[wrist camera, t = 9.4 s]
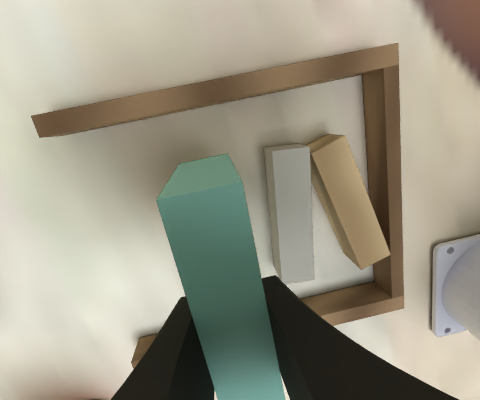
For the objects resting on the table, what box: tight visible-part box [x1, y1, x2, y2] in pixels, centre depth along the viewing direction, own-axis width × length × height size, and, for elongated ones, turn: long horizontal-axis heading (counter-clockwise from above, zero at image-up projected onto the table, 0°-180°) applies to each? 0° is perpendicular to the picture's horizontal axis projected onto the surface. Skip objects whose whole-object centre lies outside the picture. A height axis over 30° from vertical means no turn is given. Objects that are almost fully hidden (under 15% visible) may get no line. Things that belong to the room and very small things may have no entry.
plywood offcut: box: [306, 134, 391, 270], centre depth 16 cm, size 2×8×2 cm, turn 27°
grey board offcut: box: [264, 144, 314, 284], centre depth 16 cm, size 2×8×2 cm, turn 6°
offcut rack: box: [31, 43, 404, 368], centre depth 16 cm, size 18×16×2 cm
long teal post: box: [156, 153, 285, 400], centre depth 10 cm, size 2×10×5 cm, turn 11°
